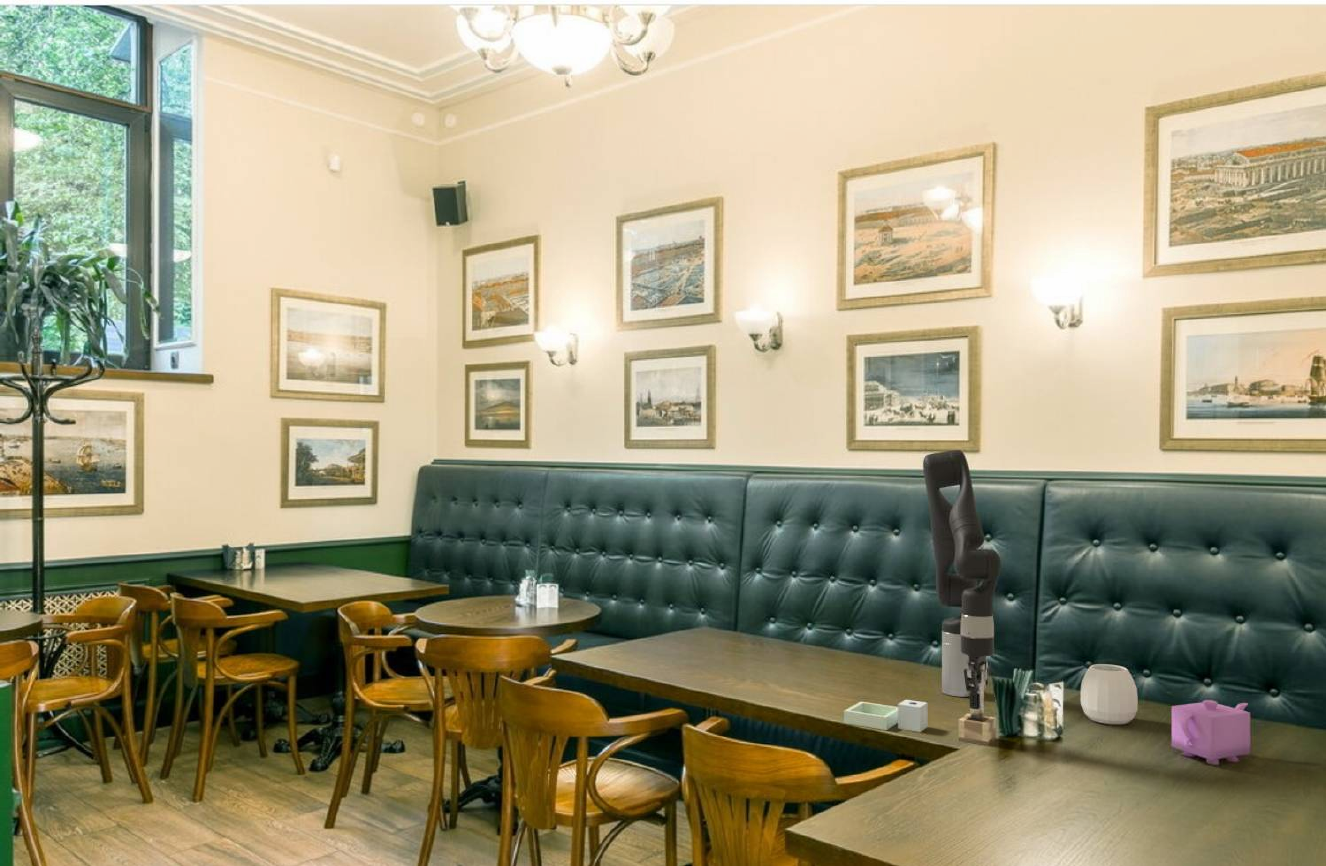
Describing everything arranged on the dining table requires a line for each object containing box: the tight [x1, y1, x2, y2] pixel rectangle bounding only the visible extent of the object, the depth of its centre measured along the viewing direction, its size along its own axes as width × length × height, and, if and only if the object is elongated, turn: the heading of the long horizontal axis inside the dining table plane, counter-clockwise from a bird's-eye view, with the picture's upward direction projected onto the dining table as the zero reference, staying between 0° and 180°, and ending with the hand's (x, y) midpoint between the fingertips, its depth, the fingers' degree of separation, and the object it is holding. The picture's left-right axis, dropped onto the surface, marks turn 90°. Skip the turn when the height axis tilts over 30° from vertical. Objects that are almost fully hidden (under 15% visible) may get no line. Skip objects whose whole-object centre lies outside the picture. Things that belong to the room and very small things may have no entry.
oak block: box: [958, 713, 997, 746], centre depth 235 cm, size 7×7×5 cm
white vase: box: [1080, 663, 1139, 725], centre depth 251 cm, size 13×13×14 cm
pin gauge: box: [969, 674, 985, 722], centre depth 235 cm, size 3×3×12 cm
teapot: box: [1171, 699, 1251, 766], centre depth 223 cm, size 20×10×12 cm, turn 112°
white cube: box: [897, 699, 929, 733], centre depth 244 cm, size 6×6×6 cm
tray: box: [843, 701, 898, 731], centre depth 249 cm, size 11×11×3 cm
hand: (977, 706), depth 235 cm, fingers closed on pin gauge, 3 cm apart
